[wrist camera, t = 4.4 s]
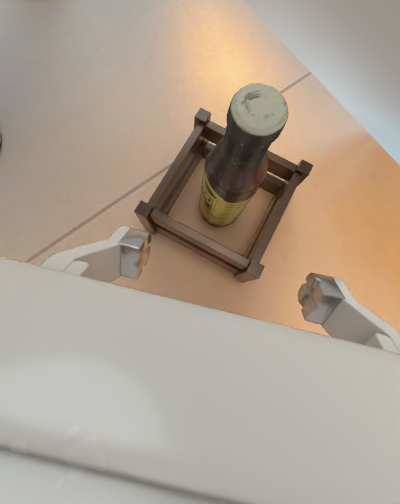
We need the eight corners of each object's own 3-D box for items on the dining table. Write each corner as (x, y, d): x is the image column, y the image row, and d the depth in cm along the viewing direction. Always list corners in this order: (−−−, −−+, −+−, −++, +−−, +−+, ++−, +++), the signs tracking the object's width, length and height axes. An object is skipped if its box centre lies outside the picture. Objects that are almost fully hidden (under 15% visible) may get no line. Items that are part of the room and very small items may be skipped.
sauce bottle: (200, 187, 35) (216, 54, 16) (240, 191, 35) (304, 65, 16) (197, 228, 34) (209, 138, 14) (238, 232, 34) (305, 149, 15)
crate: (145, 229, 34) (133, 211, 26) (197, 144, 37) (200, 107, 29) (243, 282, 33) (258, 278, 26) (288, 191, 36) (313, 165, 29)
